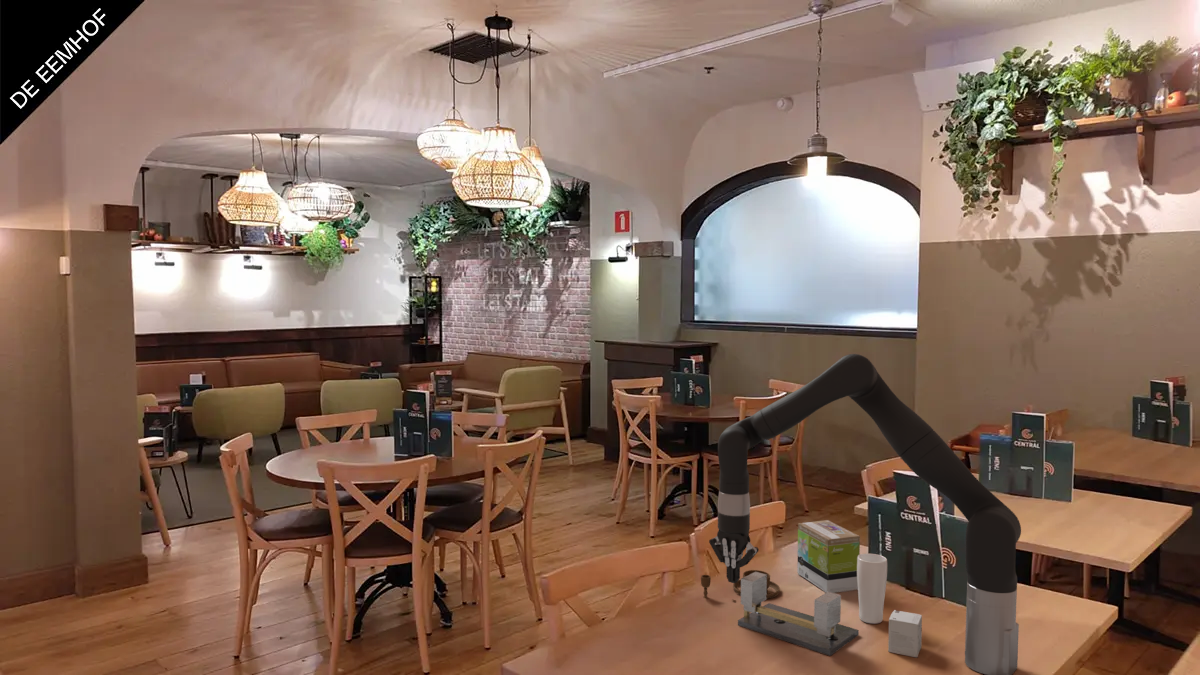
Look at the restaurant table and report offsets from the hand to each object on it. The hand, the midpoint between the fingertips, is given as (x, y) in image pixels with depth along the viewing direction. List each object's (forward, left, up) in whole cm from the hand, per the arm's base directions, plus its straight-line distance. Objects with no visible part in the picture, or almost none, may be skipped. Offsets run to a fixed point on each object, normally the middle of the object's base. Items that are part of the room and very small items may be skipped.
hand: (732, 581), depth 189 cm
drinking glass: (-25, -20, -9) cm, 34 cm away
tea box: (-6, -36, -9) cm, 38 cm away
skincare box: (-37, -10, -9) cm, 40 cm away
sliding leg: (-6, 0, -7) cm, 9 cm away
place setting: (+8, -16, -9) cm, 20 cm away
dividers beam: (-15, 0, -7) cm, 16 cm away
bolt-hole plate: (-15, -3, -8) cm, 18 cm away
